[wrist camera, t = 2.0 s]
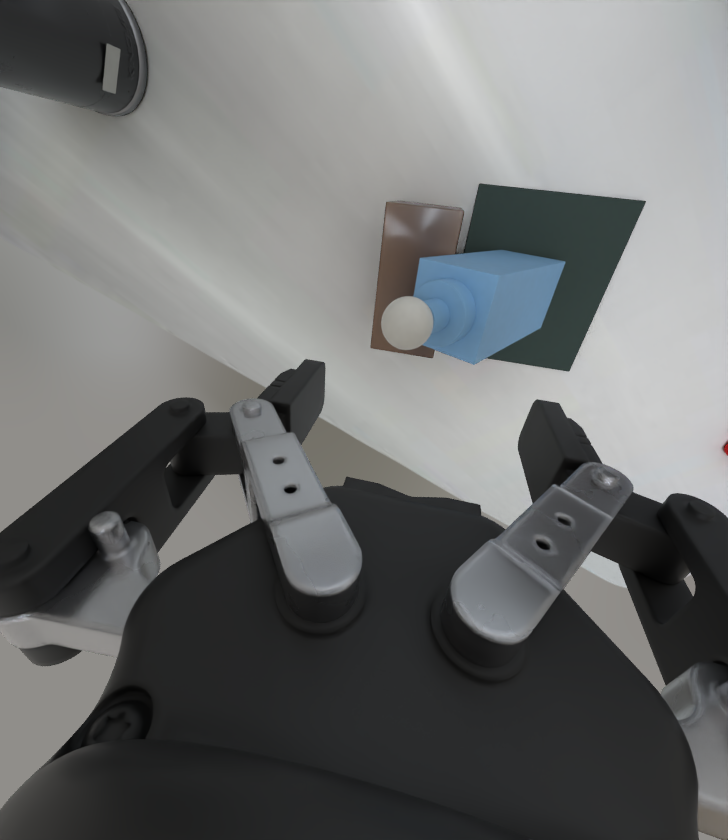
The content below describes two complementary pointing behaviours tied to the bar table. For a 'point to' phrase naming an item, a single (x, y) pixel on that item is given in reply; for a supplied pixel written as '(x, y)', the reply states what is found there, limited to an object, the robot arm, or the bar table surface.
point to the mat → (556, 258)
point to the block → (410, 256)
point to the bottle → (473, 303)
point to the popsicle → (726, 449)
